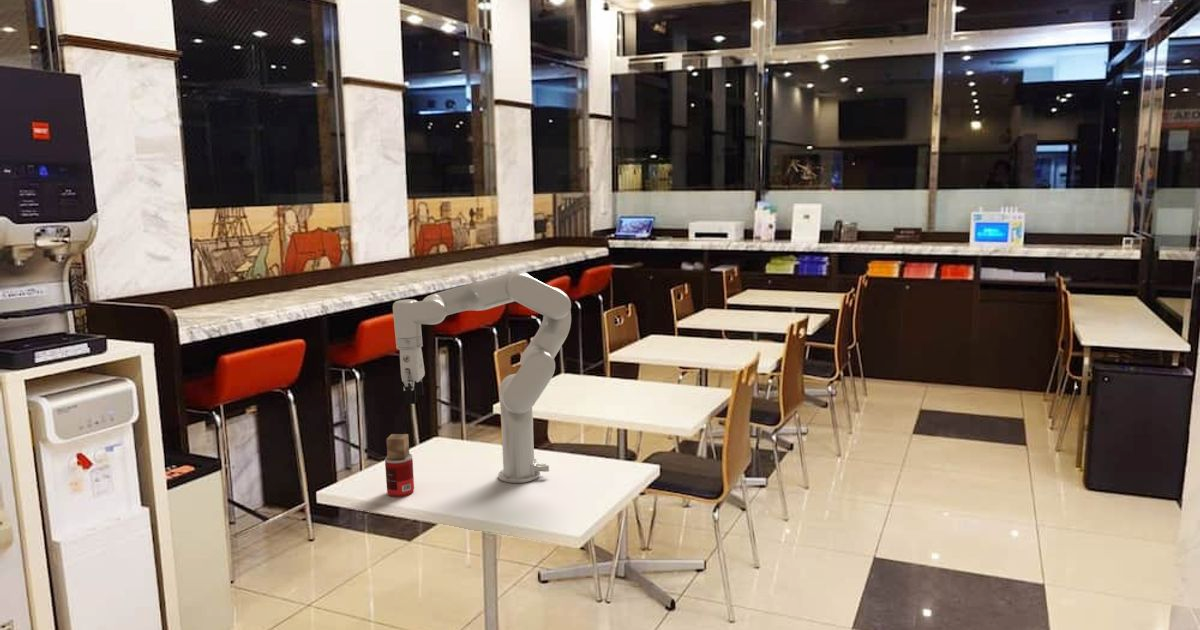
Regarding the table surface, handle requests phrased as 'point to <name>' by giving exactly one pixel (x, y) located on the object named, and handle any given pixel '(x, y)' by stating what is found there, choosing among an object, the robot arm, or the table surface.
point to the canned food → (399, 476)
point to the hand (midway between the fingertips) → (414, 399)
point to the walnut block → (397, 446)
